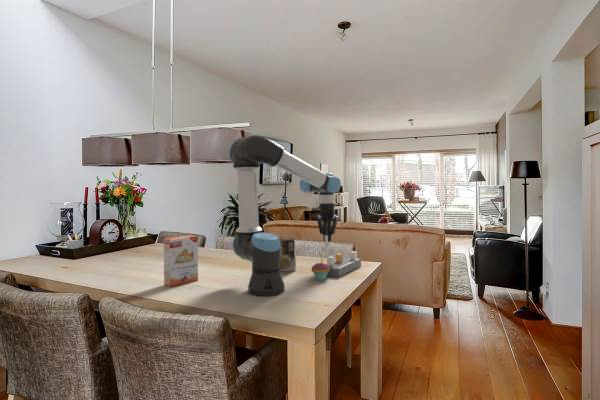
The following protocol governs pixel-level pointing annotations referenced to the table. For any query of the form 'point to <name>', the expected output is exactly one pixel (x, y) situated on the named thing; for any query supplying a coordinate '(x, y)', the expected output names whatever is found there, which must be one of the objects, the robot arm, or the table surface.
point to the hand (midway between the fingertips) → (327, 247)
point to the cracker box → (180, 260)
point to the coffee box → (287, 254)
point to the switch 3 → (353, 255)
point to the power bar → (344, 267)
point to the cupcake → (320, 270)
